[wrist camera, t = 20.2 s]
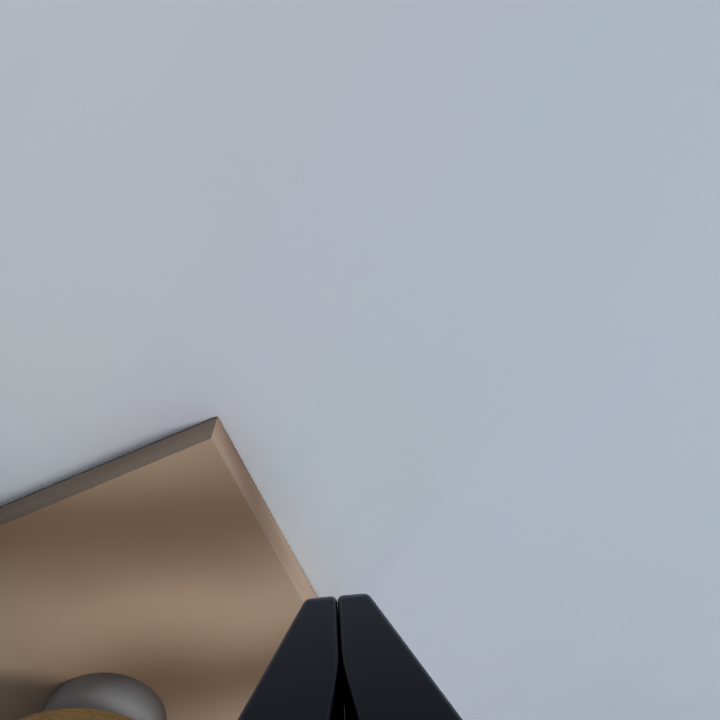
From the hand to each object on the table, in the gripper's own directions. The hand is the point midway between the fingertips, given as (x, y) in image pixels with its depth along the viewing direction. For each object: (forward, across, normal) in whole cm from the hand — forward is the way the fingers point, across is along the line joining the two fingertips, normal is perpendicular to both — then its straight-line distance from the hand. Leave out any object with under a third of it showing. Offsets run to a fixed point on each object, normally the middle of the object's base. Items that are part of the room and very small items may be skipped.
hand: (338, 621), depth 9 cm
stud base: (+12, +8, +13) cm, 19 cm away
